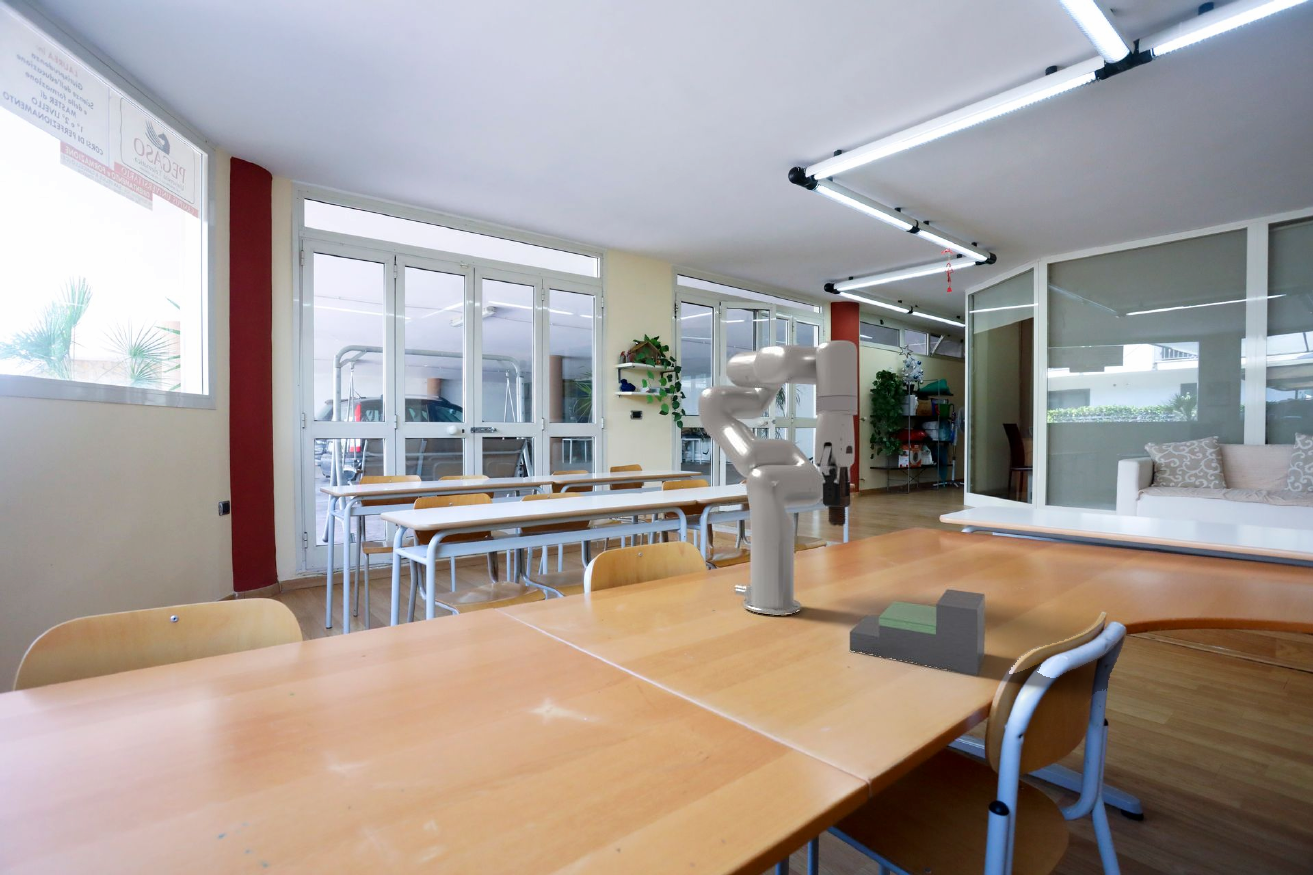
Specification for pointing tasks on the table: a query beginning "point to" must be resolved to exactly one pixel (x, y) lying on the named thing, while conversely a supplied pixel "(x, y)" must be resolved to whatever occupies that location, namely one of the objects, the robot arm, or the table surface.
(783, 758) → the table surface
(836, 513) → the bolt
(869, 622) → the stepped stand
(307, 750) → the table surface
